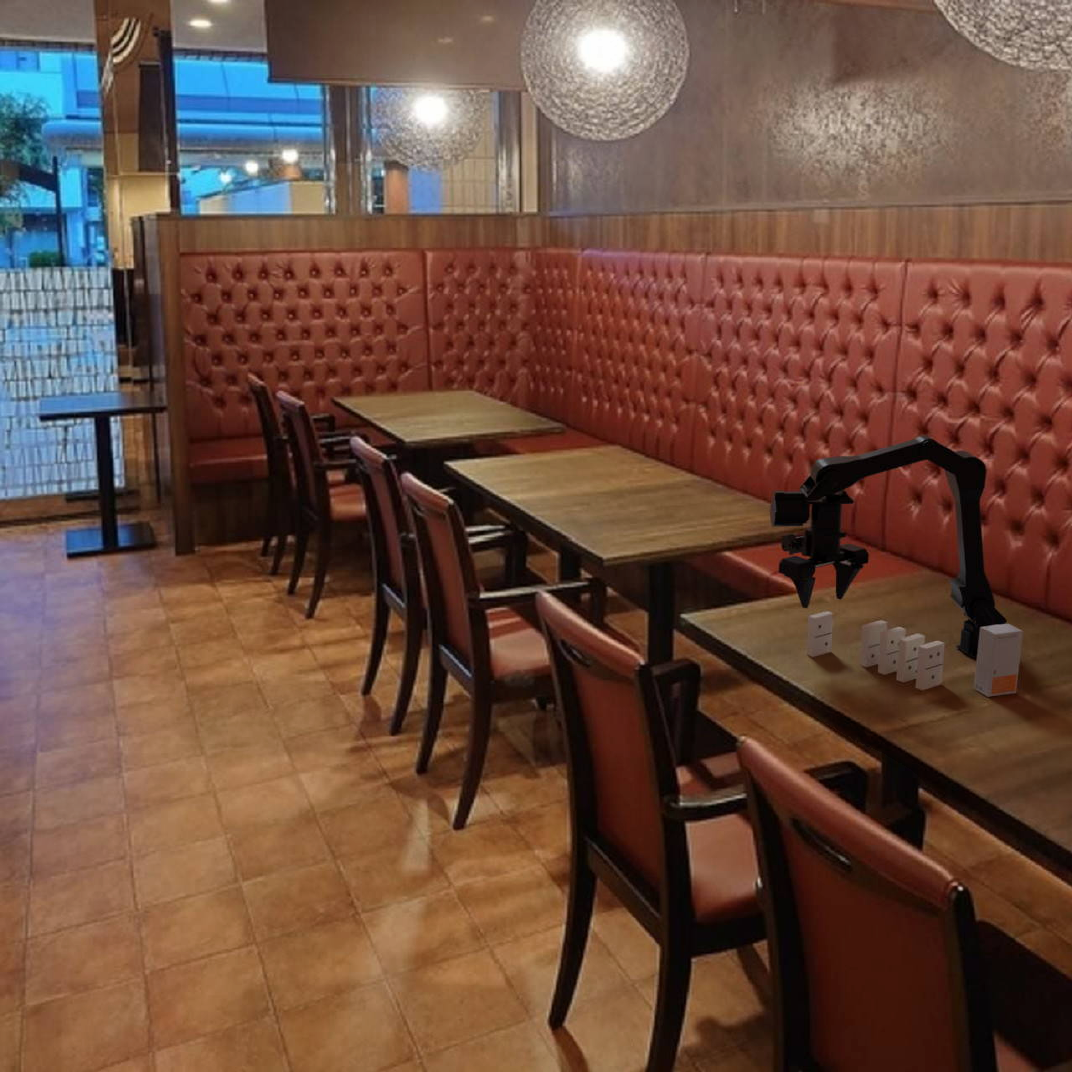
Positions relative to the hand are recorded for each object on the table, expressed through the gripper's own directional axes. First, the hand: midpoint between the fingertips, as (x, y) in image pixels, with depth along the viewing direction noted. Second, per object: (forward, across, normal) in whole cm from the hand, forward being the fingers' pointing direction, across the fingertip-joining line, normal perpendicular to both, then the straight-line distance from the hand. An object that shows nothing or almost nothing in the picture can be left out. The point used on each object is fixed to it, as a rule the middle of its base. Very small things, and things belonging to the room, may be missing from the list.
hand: (822, 603), depth 219 cm
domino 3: (+10, -4, +14) cm, 18 cm away
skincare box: (+11, -12, +31) cm, 35 cm away
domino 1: (+10, 0, 0) cm, 10 cm away
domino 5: (+10, -4, +23) cm, 25 cm away
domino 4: (+10, -4, +18) cm, 21 cm away
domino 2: (+10, -4, +9) cm, 15 cm away
